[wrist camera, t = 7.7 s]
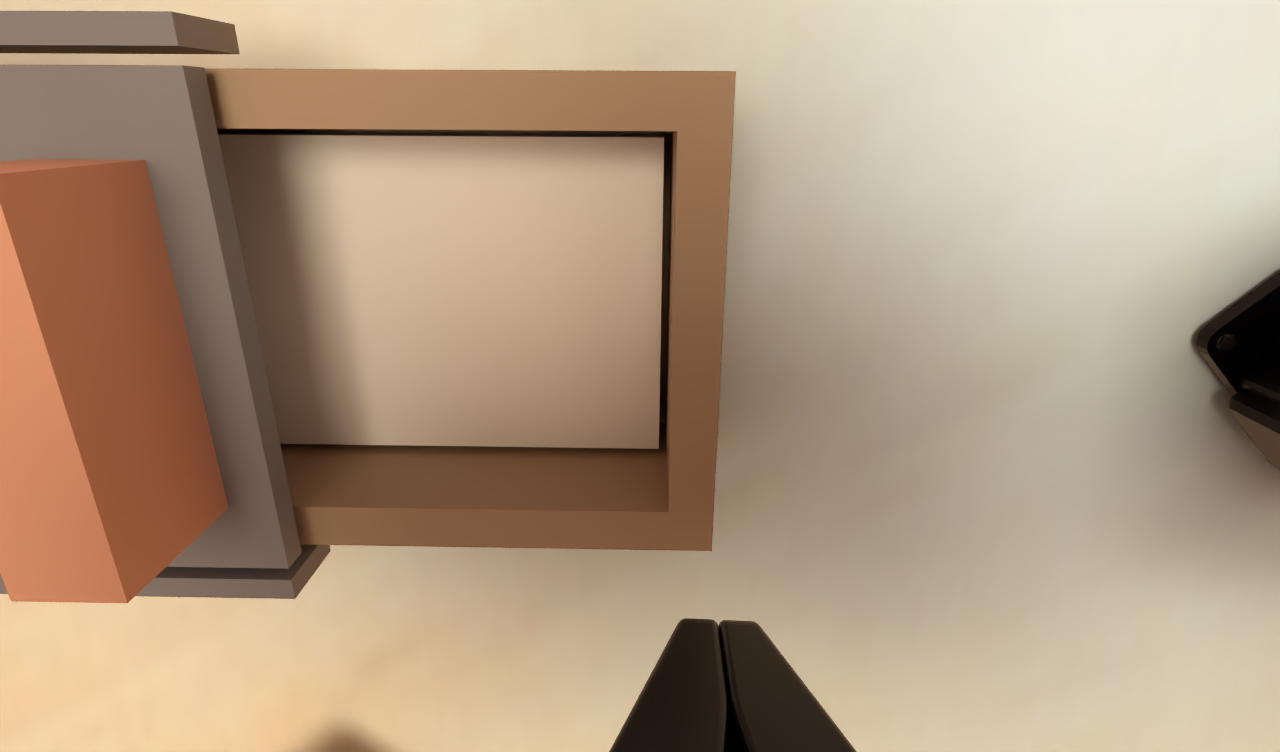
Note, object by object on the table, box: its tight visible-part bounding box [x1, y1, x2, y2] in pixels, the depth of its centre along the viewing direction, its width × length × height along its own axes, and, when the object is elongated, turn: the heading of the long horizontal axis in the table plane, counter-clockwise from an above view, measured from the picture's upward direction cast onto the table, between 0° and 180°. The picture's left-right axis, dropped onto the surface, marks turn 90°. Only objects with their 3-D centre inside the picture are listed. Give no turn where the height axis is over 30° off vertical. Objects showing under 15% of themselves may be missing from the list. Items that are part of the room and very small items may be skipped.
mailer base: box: [205, 69, 736, 551], centre depth 17 cm, size 15×10×5 cm, turn 90°
